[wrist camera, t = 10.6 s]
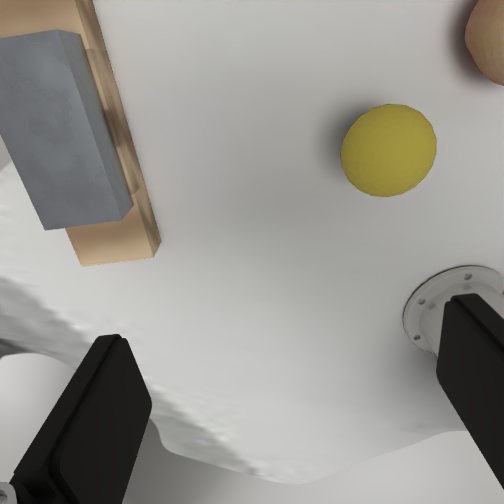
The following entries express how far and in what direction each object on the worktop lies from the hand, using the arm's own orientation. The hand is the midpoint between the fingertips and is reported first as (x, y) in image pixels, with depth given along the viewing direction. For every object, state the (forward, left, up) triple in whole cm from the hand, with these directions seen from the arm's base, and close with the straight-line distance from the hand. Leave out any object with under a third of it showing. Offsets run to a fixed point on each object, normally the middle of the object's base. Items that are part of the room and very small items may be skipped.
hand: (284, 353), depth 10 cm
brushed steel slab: (+5, +14, -25) cm, 29 cm away
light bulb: (+1, -10, -25) cm, 27 cm away
